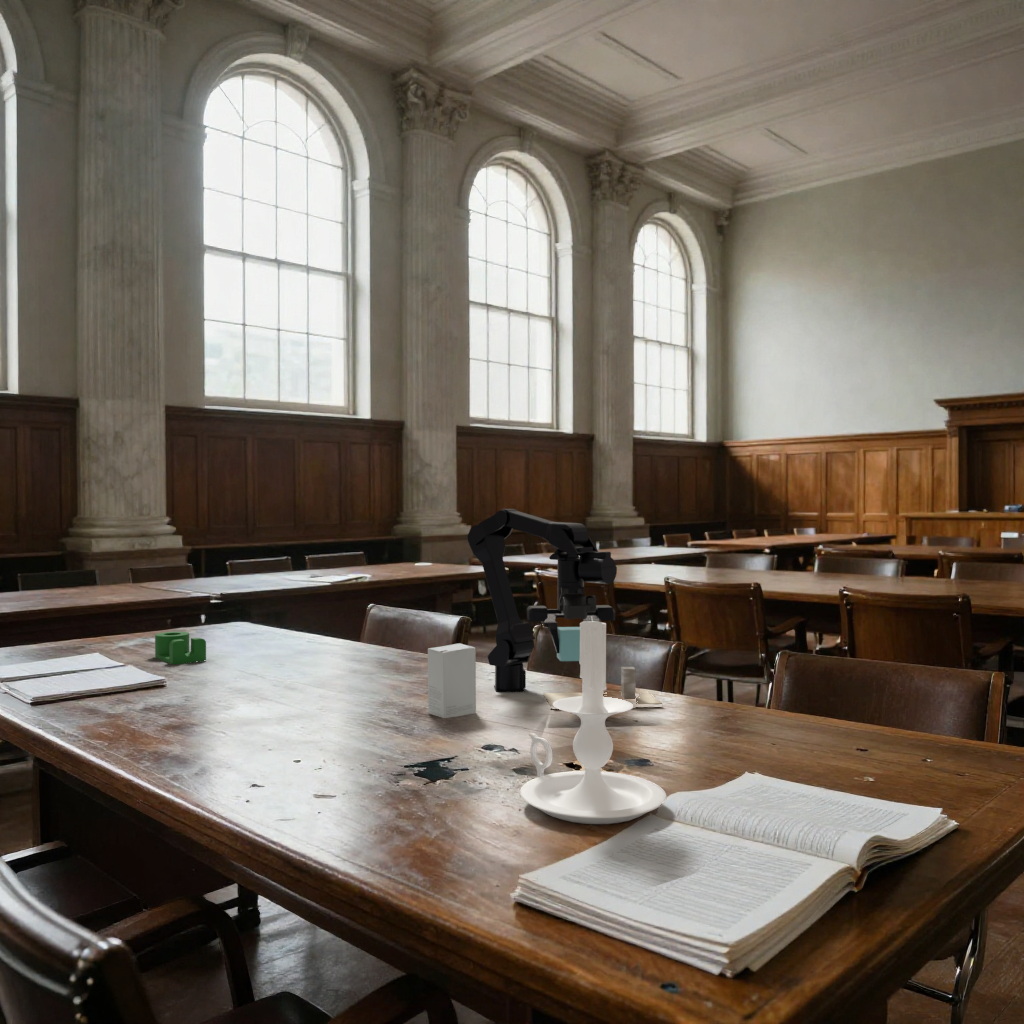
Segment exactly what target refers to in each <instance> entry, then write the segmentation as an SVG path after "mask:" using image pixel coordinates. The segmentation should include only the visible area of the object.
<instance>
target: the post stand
mask: <svg viewBox="0 0 1024 1024" xmlns="http://www.w3.org/2000/svg"><path fill="white" fill-rule="evenodd" d="M620 673H621V674H620V675H621V676H620V677H621V678H620V692H621V696H622V697H623V698H624V699H635V698H636V696H635V692H636V681H637V680H636V676H637V675H636V668H635V667H634V666H621V669H620ZM604 692H605V693H604ZM607 692H608V691H603V694H607ZM648 692H650V691H648V690H647V691H644V692H642V693H641V694H640V693H639V696H638V697H637V698H636V702H637V701H638V702H637V703H638V704H662V705H663V703H662V701H660V700H659V699H658V698H657V697H656V696H654V695H653V694H652V693H651V694H649V693H648ZM543 694H544V696H545V697H544V696H543V697H544V698H545V700H546V699H547V700H546V702H548V704H549V705H550V707H552V706H553V703H554V702H555V701H557V700H559V699H563V698H568V697H577V696H582V692H543V693H542V695H543ZM604 696H607V695H604ZM604 696H603V697H604ZM639 697H640V698H639ZM637 703H636V704H637ZM632 704H633V703H632Z"/></svg>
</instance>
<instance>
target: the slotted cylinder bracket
mask: <svg viewBox="0 0 1024 1024" xmlns="http://www.w3.org/2000/svg"><path fill="white" fill-rule="evenodd" d="M154 658H155V659H157V660H159V661H162V662H165V663H166V664H170V665H174V666H175V665H183V664H184V663H185V664H191V663H190V662H196V661H204V660H206V661H207V641H206V639H204V638H201V637H192V638H190V633H189V632H186V631H166V632H165V631H164V632H160V633H159V632H158V633H156V634H154Z"/></svg>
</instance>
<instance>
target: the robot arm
mask: <svg viewBox="0 0 1024 1024" xmlns="http://www.w3.org/2000/svg"><path fill="white" fill-rule="evenodd" d="M514 530H516V531H520V532H522V533H526V534H530V535H533V536H535V537H538V538H541V539H543V540H545V541H546V542H547V543H548V544H549V545H550V546H552V547H554V548H556V549H555V551H554V552H553V553H552V554H551V555H550V556H549V560H552V561H557V608H549V609H548V608H547V606H546V605H528V606H527V608H526V619H527V620H528V621H529V622H523V620H522V619H521V618H520V616H519V613H518V609H517V606H516V601H515V598H514V594H513V591H512V588H511V585H510V581H509V577H508V574H507V570H506V565H505V562H504V555H505V551H506V542H505V539H507V538H508V537H509V536H510V535H511V534H512V532H513V531H514ZM592 540H593V539H592V538H591V537H590V535H589V531H588V530H587V526H585V525H584V523H580V522H579V523H577V522H561V521H553V520H549V519H546V518H543V517H539V516H536V515H533V514H529V513H526V512H522V511H519V510H517V509H515V508H502V509H500V510H498V511H496V513H494V514H493V515H492V516H490V517H488V518H486V519H484V520H482V521H480V522H479V523H478V524H475V525H473V526H472V527H471V528H470V529H469V531H468V534H467V542H468V545H469V548H470V549H471V552H472V554H473V555H474V557H475V558H476V559H477V560H478V561H479V562H480V563H481V565H482V568H483V572H484V575H485V576H484V577H485V580H486V582H487V586H488V590H489V594H490V597H491V601H492V602H491V603H492V604H493V609H494V612H495V615H496V616H495V617H496V620H497V627H496V632H495V644H496V645H495V647H494V648H493V649H492V650H491V651H490V653H488V655H487V660H488V664H489V666H494V685H493V689H494V691H495V692H496V693H521V692H520V691H524V692H525V689H526V687H527V686H526V683H527V682H526V681H527V680H526V679H527V678H526V674H527V673H526V670H525V668H524V663H525V664H527V663H529V661H530V658H531V654H532V653H533V651H534V648H535V640H536V637H535V636H534V634H533V631H532V630H533V629H532V625H531V623H530V622H540V623H541V624H542V625H544V626H546V627H547V629H548V631H549V634H550V637H551V640H552V642H553V646H554V649H555V652H556V654H557V653H559V639H558V630H557V627H558V622H557V621H556V618H564V619H566V620H573V619H576V620H577V619H580V620H582V622H584V621H592V619H593V621H598V622H602V621H603V622H604V621H609V622H610V621H611V622H612V621H616V610H615V608H613V606H610V605H609V604H601V605H600V604H597V596H596V595H594V594H593V595H590V594H589V595H585V583H588V584H589V583H591V584H602V585H603V584H604V585H610V584H612V583H613V582H615V579H616V577H617V573H618V567H617V566H616V562H615V560H614V559H613V558H612V552H611V551H598V549H597V547H596V545H595V544H594V542H593V541H592ZM591 616H592V619H591Z"/></svg>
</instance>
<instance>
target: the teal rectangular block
mask: <svg viewBox="0 0 1024 1024" xmlns="http://www.w3.org/2000/svg"><path fill="white" fill-rule="evenodd" d="M557 630H558V639H559V653H557V652H556V658H557V659H558V660H559V661H560V662H579V661H580V626H557Z"/></svg>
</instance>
